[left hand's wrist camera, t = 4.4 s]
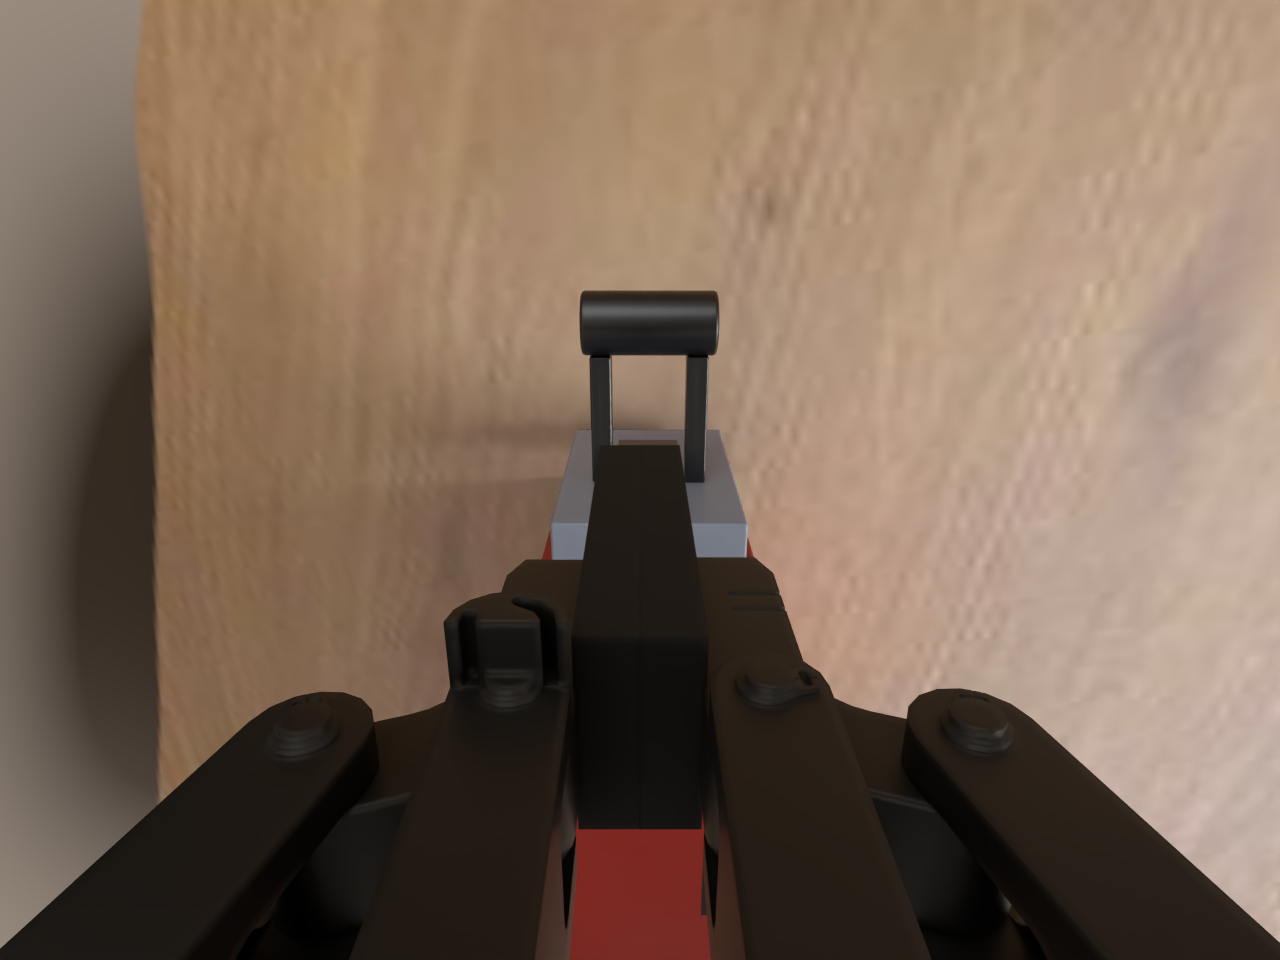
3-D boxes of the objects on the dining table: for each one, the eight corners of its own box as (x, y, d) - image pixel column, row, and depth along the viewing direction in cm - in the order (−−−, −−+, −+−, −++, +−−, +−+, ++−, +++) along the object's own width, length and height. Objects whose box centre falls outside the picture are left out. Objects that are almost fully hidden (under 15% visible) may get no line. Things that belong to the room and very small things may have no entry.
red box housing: (563, 477, 29) (525, 615, 20) (731, 477, 29) (772, 616, 20) (578, 854, 36) (555, 1089, 27) (713, 855, 36) (738, 1090, 27)
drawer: (570, 271, 25) (539, 308, 18) (726, 271, 25) (760, 309, 18) (588, 814, 34) (571, 997, 26) (704, 815, 34) (721, 998, 26)
